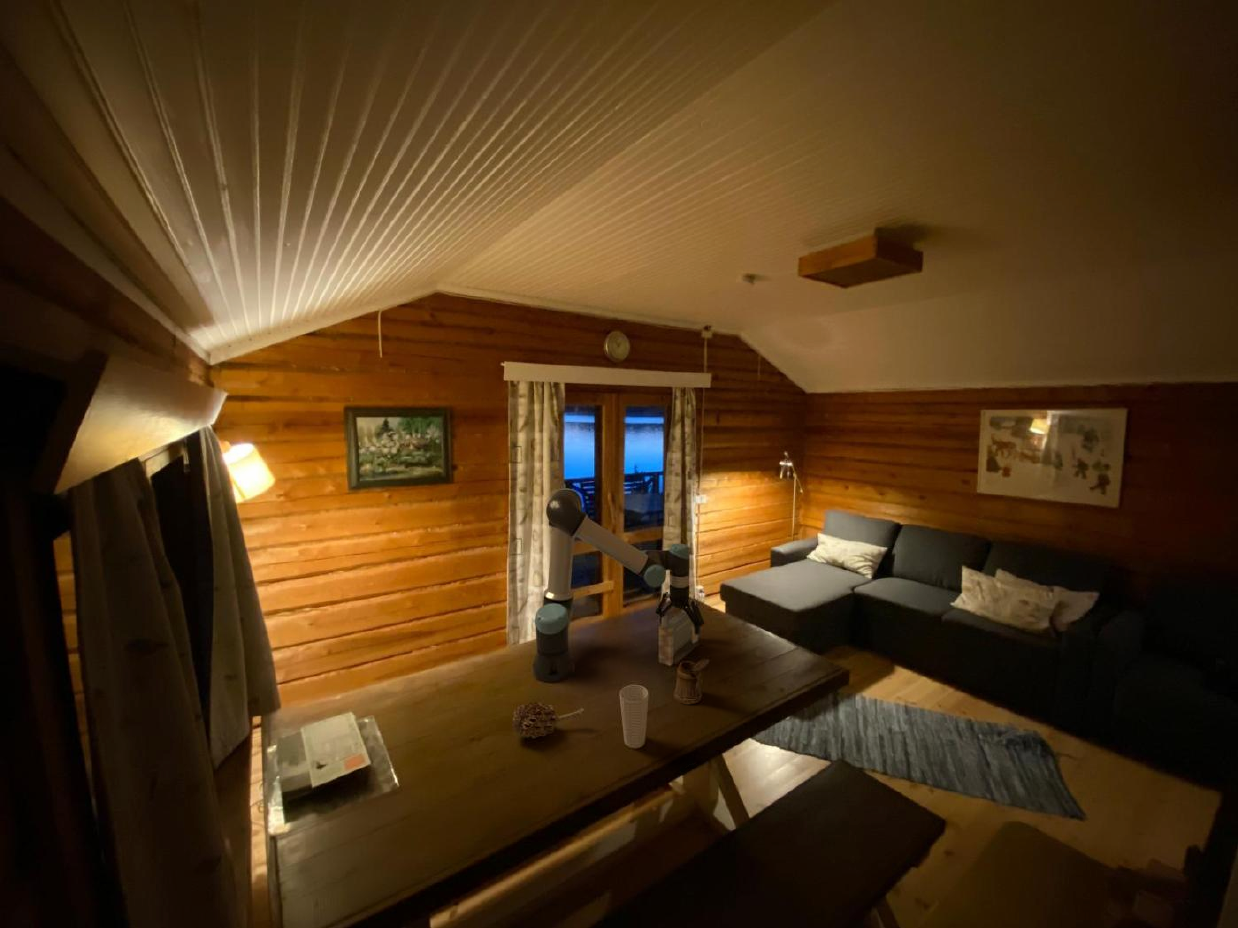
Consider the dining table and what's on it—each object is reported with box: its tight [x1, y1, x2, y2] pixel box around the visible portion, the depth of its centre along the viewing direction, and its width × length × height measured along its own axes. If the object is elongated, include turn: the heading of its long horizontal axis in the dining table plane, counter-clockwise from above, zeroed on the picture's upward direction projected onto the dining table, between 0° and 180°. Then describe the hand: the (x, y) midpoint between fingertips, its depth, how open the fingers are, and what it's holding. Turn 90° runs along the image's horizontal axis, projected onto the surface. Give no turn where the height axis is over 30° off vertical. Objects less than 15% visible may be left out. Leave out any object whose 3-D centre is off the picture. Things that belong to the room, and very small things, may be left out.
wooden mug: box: [673, 657, 710, 705], centre depth 167 cm, size 9×14×18 cm, turn 30°
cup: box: [619, 683, 650, 749], centre depth 148 cm, size 8×8×16 cm
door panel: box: [667, 609, 690, 655], centre depth 198 cm, size 3×12×14 cm, turn 144°
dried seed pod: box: [512, 701, 585, 739], centre depth 153 cm, size 22×10×10 cm, turn 109°
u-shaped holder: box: [658, 606, 700, 667], centre depth 198 cm, size 8×22×14 cm, turn 144°
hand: (679, 636), depth 198 cm, fingers open, 13 cm apart
